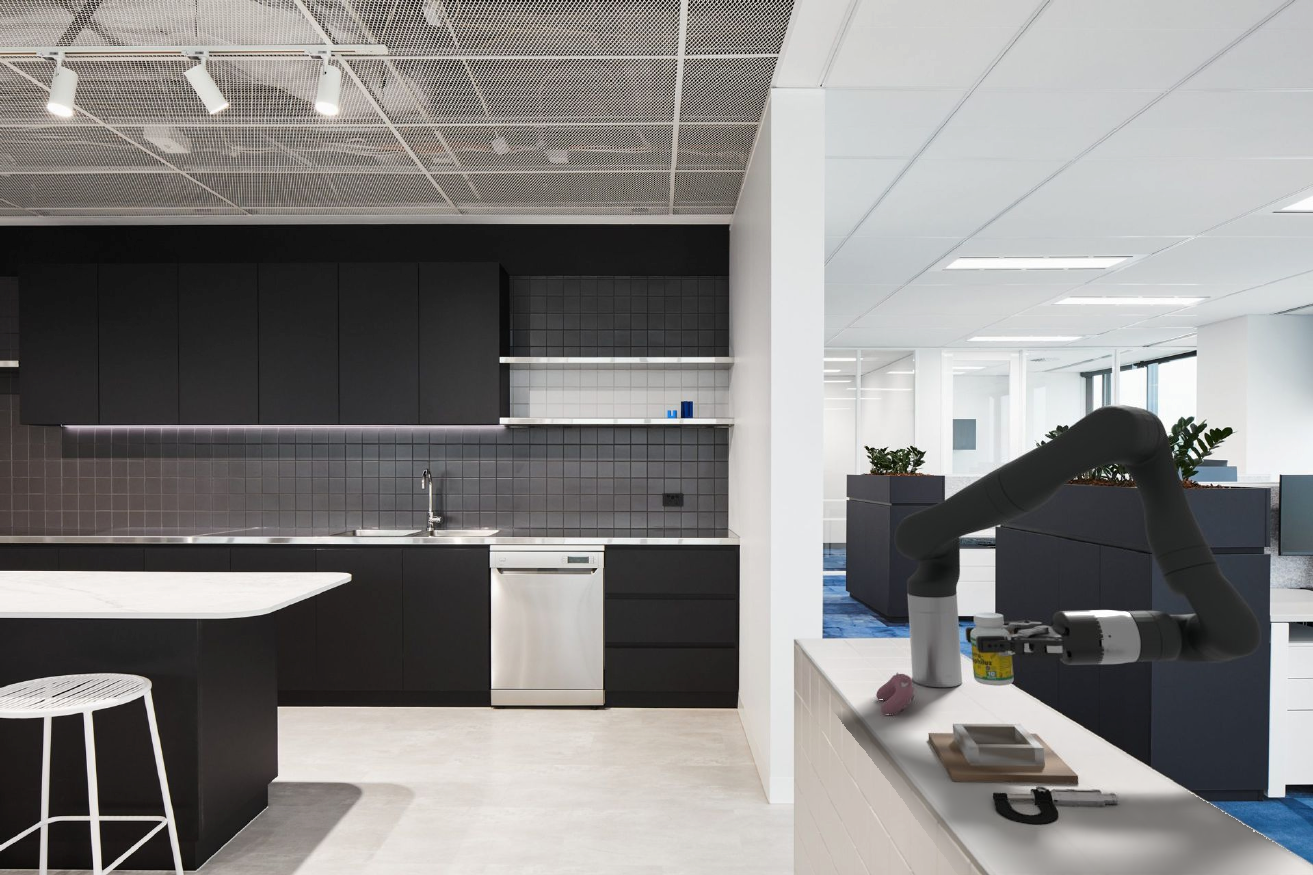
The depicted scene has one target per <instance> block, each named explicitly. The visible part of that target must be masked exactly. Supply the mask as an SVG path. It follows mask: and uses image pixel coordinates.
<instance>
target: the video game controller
mask: <svg viewBox="0 0 1313 875" xmlns="http://www.w3.org/2000/svg"><path fill="white" fill-rule="evenodd" d="M912 681H913V680H912V678H911V677H910V676H909V675H907V674H905V673H898V672H896V674H894V675H892V677H891V678H890V679H889V680H888V681H887V682H886V683H884V684H883V685H882V686H881V687H879V688H878V689H877V691H876V698H877V700H879V699H883V700H885V701H884V703H883V704H882V705H881V713H882V714H883V715H884V714H889V715H888V716H892V714H893V715H896V714H898V713H899V712H903V711H904V709H905V708H906V707H907V706H908V705H909V704H910V702H913V701H915V699H916V695H915V694H914V693H915V688H914V687H913V683H912ZM890 714H891V715H890Z"/></svg>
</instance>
